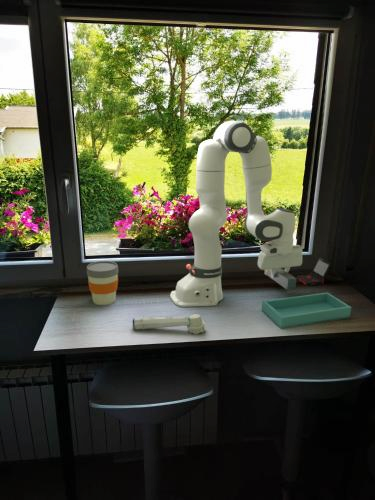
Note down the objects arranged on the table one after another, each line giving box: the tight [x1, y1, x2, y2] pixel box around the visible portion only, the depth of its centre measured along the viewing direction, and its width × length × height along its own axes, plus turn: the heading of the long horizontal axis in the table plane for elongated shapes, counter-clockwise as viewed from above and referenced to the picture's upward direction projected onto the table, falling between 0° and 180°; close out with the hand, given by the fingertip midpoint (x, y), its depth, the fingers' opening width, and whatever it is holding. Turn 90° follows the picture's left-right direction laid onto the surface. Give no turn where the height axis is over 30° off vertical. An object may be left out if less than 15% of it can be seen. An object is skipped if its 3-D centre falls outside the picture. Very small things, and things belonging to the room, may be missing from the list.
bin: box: [261, 291, 352, 330], centre depth 141 cm, size 30×14×4 cm, turn 108°
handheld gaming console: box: [296, 257, 332, 287], centre depth 173 cm, size 9×12×10 cm
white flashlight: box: [132, 313, 206, 335], centre depth 129 cm, size 5×7×25 cm
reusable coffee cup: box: [86, 260, 120, 306], centre depth 149 cm, size 13×13×15 cm
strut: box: [263, 268, 298, 290], centre depth 159 cm, size 20×5×5 cm, turn 18°
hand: (278, 276), depth 160 cm, fingers closed on strut, 4 cm apart
